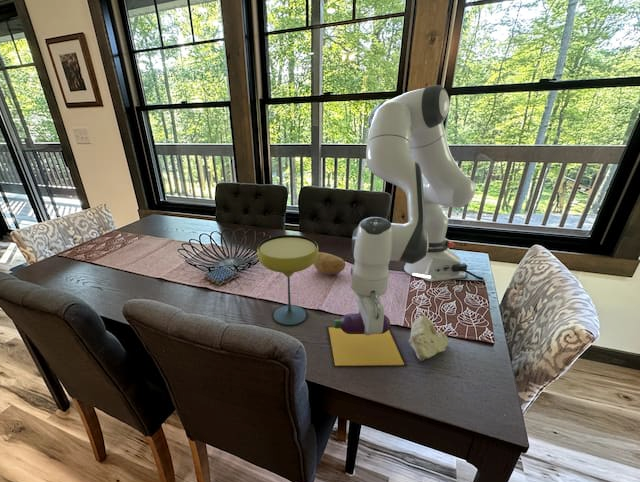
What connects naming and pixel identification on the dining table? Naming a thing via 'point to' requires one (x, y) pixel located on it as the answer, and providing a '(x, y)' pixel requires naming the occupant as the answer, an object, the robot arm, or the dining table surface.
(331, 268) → the potato
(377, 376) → the dining table surface
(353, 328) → the eggplant
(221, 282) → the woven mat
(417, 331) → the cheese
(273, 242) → the cocktail glass
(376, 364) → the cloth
